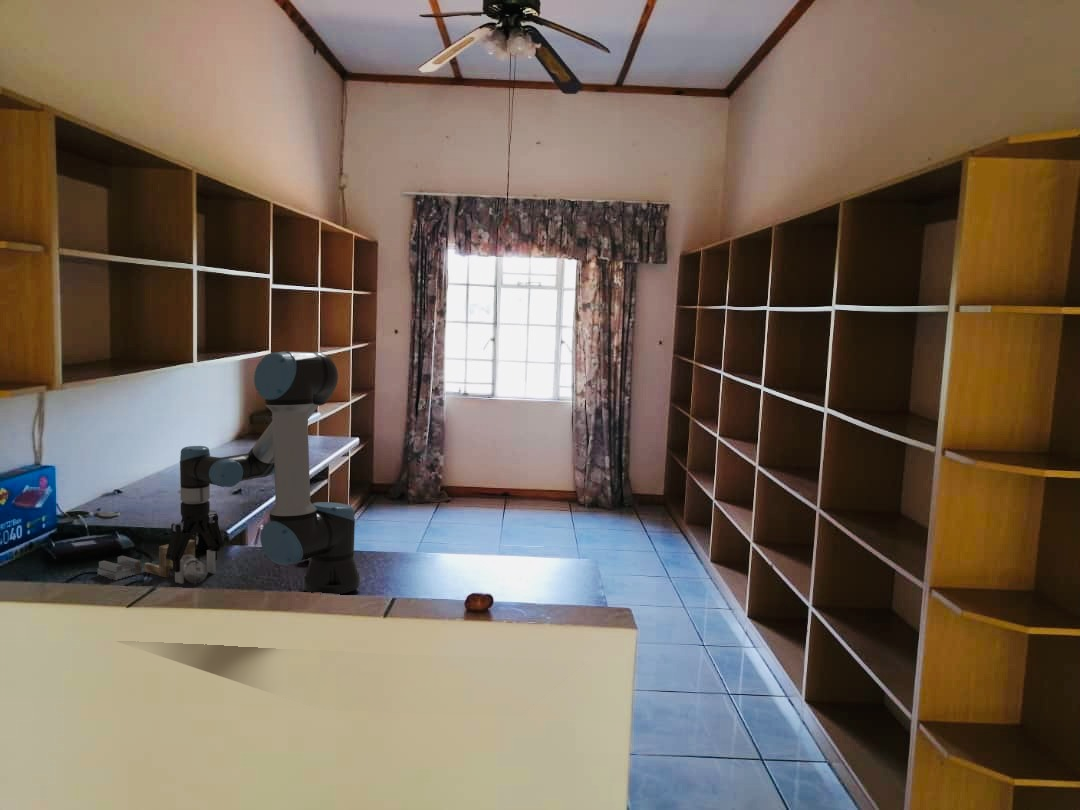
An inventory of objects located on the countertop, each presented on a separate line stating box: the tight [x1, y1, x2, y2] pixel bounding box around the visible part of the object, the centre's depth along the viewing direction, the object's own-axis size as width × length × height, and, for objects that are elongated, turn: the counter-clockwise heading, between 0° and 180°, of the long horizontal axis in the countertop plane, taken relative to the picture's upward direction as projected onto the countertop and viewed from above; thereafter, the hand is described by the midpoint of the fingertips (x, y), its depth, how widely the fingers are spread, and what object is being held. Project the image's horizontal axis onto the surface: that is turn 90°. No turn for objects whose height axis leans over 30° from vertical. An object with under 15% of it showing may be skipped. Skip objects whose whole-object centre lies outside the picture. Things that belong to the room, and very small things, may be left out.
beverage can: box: [195, 509, 219, 552], centre depth 246 cm, size 7×7×12 cm
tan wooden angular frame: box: [143, 539, 196, 579], centre depth 224 cm, size 10×10×9 cm
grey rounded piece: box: [181, 554, 209, 584], centre depth 218 cm, size 9×6×6 cm, turn 43°
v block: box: [97, 555, 143, 581], centre depth 219 cm, size 8×8×4 cm
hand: (195, 577), depth 219 cm, fingers open, 10 cm apart
